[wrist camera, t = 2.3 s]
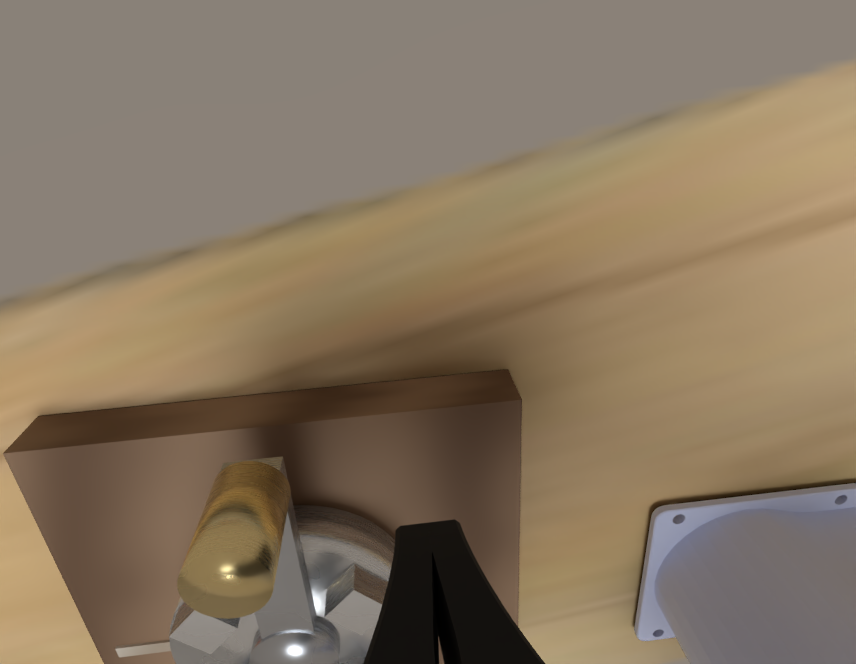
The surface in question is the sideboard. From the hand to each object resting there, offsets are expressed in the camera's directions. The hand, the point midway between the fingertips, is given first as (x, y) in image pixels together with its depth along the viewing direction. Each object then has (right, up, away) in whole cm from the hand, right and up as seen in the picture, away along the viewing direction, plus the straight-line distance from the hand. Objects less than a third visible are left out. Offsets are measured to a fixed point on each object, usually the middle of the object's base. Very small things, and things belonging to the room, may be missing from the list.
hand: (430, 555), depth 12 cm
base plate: (-5, -3, +10) cm, 11 cm away
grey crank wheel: (-5, -3, +7) cm, 9 cm away
